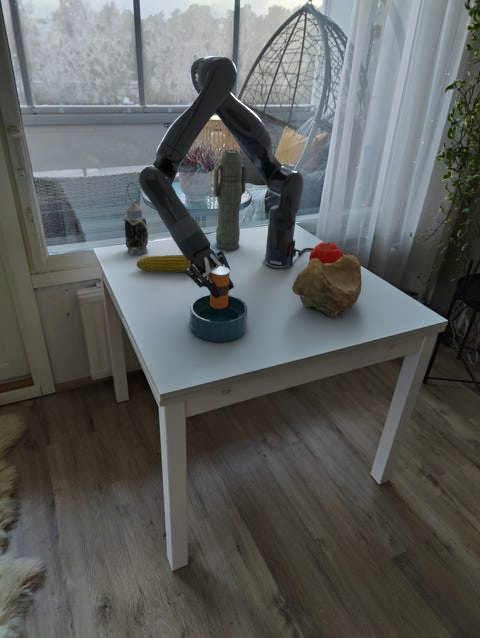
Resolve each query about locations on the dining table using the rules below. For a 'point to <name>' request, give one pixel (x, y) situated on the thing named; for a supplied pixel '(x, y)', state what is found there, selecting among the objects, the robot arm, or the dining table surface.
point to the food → (164, 263)
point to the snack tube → (220, 286)
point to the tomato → (326, 253)
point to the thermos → (229, 198)
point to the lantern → (135, 229)
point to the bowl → (218, 319)
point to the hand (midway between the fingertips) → (225, 292)
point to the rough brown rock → (330, 285)
